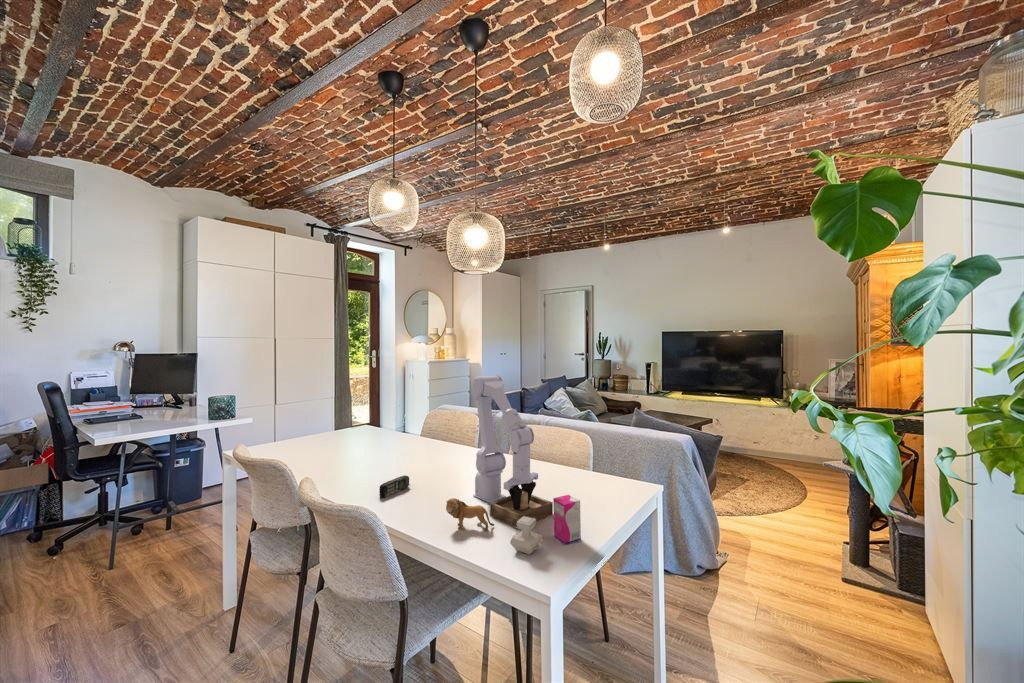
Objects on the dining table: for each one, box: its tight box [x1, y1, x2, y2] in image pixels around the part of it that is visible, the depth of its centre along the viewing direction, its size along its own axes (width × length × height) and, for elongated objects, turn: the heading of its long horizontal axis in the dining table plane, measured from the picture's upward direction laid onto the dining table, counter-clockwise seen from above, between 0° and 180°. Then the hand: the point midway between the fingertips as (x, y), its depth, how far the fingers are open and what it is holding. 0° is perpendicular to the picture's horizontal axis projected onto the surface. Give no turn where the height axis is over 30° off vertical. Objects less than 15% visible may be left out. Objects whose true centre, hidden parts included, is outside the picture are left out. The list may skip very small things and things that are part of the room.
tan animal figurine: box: [445, 497, 495, 531], centre depth 126 cm, size 15×5×9 cm, turn 93°
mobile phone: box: [379, 475, 410, 499], centre depth 155 cm, size 5×3×15 cm
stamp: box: [509, 516, 543, 555], centre depth 112 cm, size 9×7×8 cm
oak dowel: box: [516, 491, 528, 511], centre depth 134 cm, size 4×4×6 cm
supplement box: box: [552, 494, 582, 545], centre depth 119 cm, size 6×6×12 cm
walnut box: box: [489, 494, 554, 531], centre depth 134 cm, size 14×15×4 cm
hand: (521, 505), depth 134 cm, fingers closed on oak dowel, 4 cm apart
